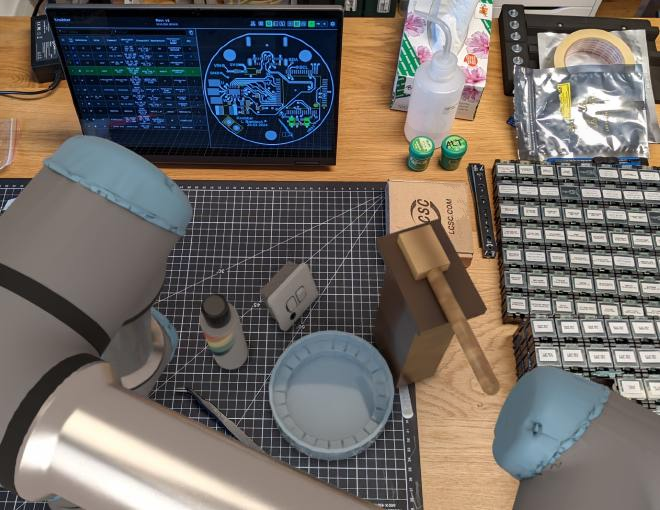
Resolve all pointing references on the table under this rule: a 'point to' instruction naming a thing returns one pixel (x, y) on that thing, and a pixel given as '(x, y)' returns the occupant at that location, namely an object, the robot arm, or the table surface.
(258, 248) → the table surface
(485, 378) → the wooden mallet
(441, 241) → the stand
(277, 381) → the bowl
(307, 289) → the electrical switch
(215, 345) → the lotion bottle
